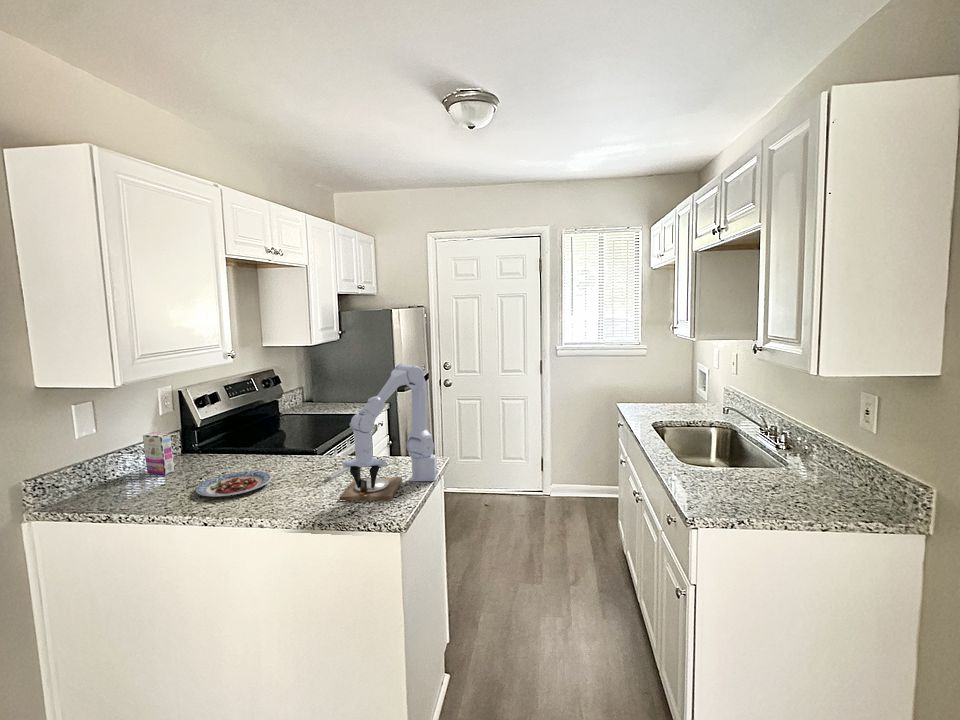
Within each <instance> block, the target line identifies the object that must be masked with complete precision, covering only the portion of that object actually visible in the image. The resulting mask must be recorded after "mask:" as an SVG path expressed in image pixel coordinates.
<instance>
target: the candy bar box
mask: <svg viewBox="0 0 960 720" xmlns="http://www.w3.org/2000/svg"><path fill="white" fill-rule="evenodd" d="M172 439H173V438H172V433H167V432H165V433H164V432H150V433H145V434H143V435H142V440H143V441H142V442H143V450H144V456H145V457H144V458H145V466H146V472H147V474H152V475H153V474H154V475H163V476H166V475H170V474H173V473H175V472H176V464H175V456H174V448H173V447H174V446H173V440H172Z"/></svg>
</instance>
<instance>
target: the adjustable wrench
mask: <svg viewBox="0 0 960 720" xmlns="http://www.w3.org/2000/svg"><path fill="white" fill-rule="evenodd" d="M352 460H356V458H353V459H352ZM348 469H350V467H347V468H343V467H342V468H340V469H338V470H336V471H334V472H332V473H331V474H329V475H327V476H326V477H324V481H325V482H331V481H333V480H335V479H336V478H338V477H340V476H341V475H340V474H342V473H343V474H345V473H346V472H345V471H347V470H348ZM344 472H345V473H344ZM347 472H348V471H347ZM343 474H342V475H343ZM339 475H340V476H339ZM337 476H338V477H337ZM334 478H335V479H334ZM332 479H333V480H332ZM330 480H331V481H330Z"/></svg>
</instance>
